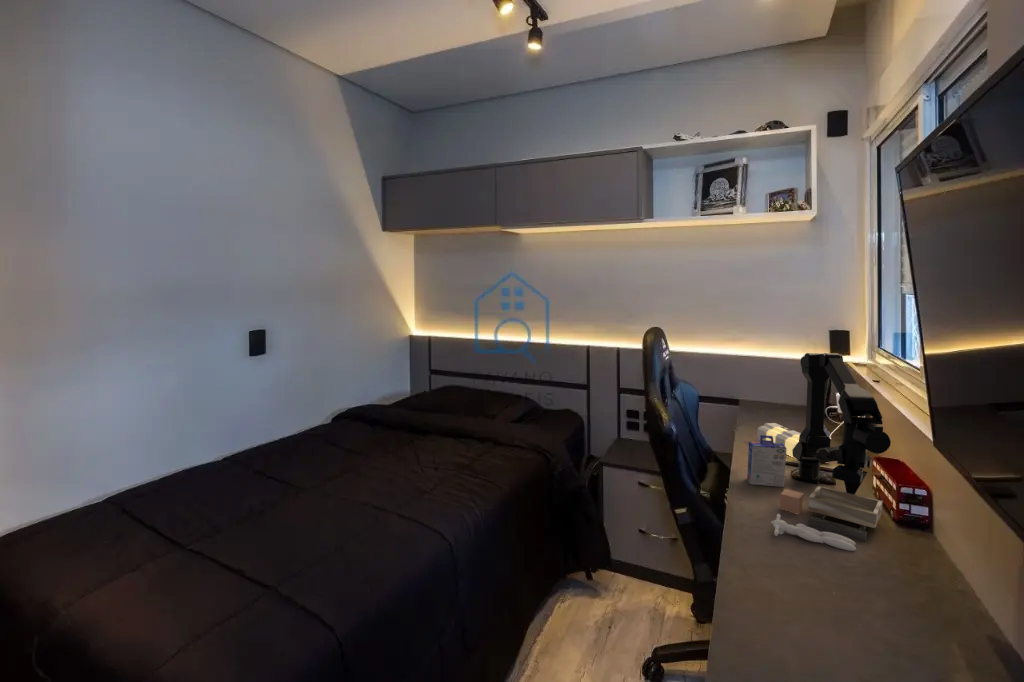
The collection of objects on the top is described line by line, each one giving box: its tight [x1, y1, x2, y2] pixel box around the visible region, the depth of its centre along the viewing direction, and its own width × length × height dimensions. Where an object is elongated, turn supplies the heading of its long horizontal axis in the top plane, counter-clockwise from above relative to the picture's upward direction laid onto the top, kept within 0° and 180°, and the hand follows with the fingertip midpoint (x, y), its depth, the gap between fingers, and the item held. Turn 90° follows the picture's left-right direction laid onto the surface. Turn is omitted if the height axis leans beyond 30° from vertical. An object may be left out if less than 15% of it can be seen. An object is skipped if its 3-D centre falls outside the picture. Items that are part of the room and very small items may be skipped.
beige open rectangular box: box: [807, 485, 884, 529], centre depth 137 cm, size 11×15×5 cm
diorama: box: [756, 422, 832, 457], centre depth 189 cm, size 25×10×13 cm, turn 11°
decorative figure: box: [770, 513, 857, 552], centre depth 127 cm, size 4×12×18 cm
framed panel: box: [808, 515, 868, 542], centre depth 140 cm, size 28×12×2 cm, turn 138°
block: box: [779, 488, 804, 515], centre depth 143 cm, size 4×4×4 cm
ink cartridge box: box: [746, 435, 787, 488], centre depth 161 cm, size 10×6×14 cm, turn 79°
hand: (850, 497), depth 141 cm, fingers closed
